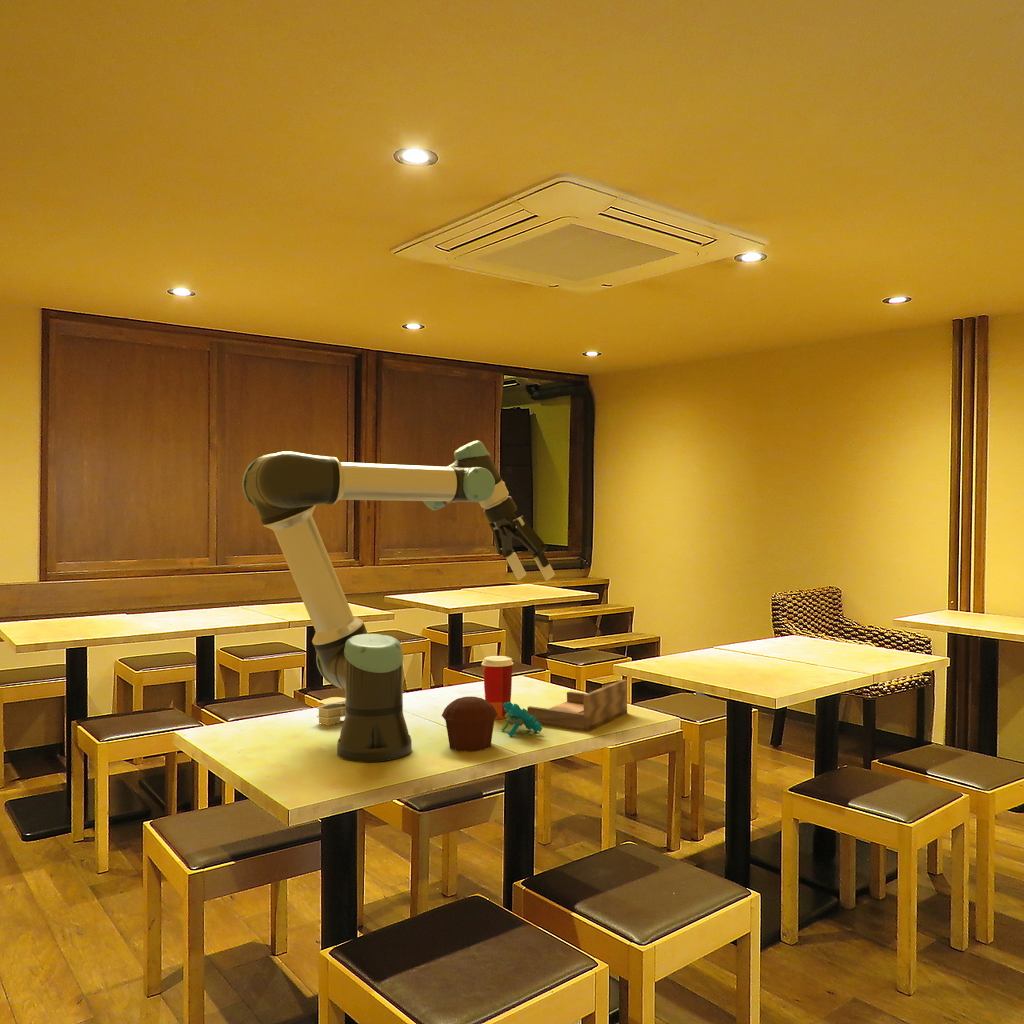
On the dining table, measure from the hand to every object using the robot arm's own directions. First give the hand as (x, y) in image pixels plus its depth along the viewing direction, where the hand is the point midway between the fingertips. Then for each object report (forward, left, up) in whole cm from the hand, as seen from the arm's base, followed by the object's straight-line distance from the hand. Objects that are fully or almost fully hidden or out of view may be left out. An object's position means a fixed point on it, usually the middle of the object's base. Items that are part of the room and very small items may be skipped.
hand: (536, 577), depth 210 cm
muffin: (-33, -4, -33) cm, 47 cm away
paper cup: (-9, +5, -33) cm, 35 cm away
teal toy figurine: (-19, -7, -33) cm, 39 cm away
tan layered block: (-33, +36, -33) cm, 59 cm away
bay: (0, -12, -33) cm, 35 cm away
